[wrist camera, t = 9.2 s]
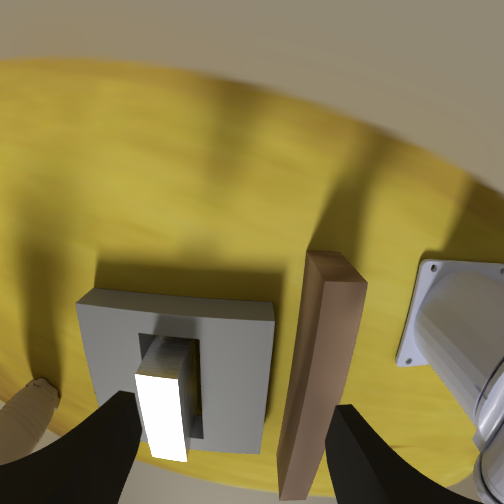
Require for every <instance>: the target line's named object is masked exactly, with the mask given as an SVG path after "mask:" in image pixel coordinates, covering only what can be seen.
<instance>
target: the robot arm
mask: <svg viewBox="0 0 504 504" xmlns="http://www.w3.org/2000/svg"><path fill="white" fill-rule="evenodd" d="M432 265H434V269H433V270H431V267H432ZM501 269H502V270H501ZM409 358H410V359H409ZM407 359H409V360H408V361H407ZM395 362H396V364H397V366H398V367H407V366H418V365H427V364H430V366H431V367H432V368H433V370H434V371H435V372H436V374H437V375H438V376H439V377H440V379H441V380H442V381H443V383H444V384H445V385H446V387H447V388H448V389H449V391H450V392H451V393H452V395H453V396H454V397H455V399H456V400H457V402H458V403H459V404H460V406H461V407H462V408H463V410H464V411H465V413H466V414H467V415H468V417H469V418H470V420H471V421H472V422H473V424H474V425H475V426H476V433H475V435H474V437H473V439H472V440H473V442H474V443H475V445H476V446H477V448H478V450H479V451H480V454H479V455H478V457H477V459H476V462H475V465H474V470H473V479H474V485H475V488H476V491H477V493H478V495H479V497H480V499H481V500H482V501H483V503H481V502H478V501H474V500H471V499H468V498H466V497H464V496H461V495H459V494H456V493H454V492H452V491H450V490H448V489H446V488H444V487H443V486H441V485H439V484H437V483H436V482H434V481H432V480H431V479H429V478H427V477H426V476H424V475H423V474H422V473H420V472H419V471H417V470H416V469H415V468H413V467H412V466H411V465H409V464H408V463H407V462H406V461H405V460H403V459H402V458H401V457H400V456H399V455H398V454H397V453H396V452H395V451H394V450H393V449H392V448H390V447H389V446H388V445H387V443H386V442H385V441H384V440H383V439H382V438H381V437H380V436H379V435H378V434H377V433H376V432H375V431H374V430H373V429H372V427H371V426H370V425H369V424H368V423H367V422H366V421H365V419H364V418H363V417H362V416H361V415H360V413H359V412H358V411H357V410H356V409H355V408H354V406H353V405H352V404H348V405H335V409H334V412H333V416H332V419H331V422H330V425H329V429H328V432H327V435H326V438H325V449H326V457H327V464H328V468H329V472H330V476H331V480H332V484H333V488H334V492H335V495H336V499H337V503H338V504H504V264H502V263H486V262H471V261H455V260H439V259H424V260H423V261H422V262H421V263H420V266H419V270H418V275H417V280H416V285H415V289H414V294H413V298H412V302H411V306H410V310H409V314H408V318H407V322H406V325H405V329H404V333H403V336H402V340H401V343H400V347H399V350H398V353H397V356H396V360H395ZM142 430H143V429H142V425H141V420H140V416H139V412H138V407H137V402H136V397H135V393H132V392H127V391H121V390H119V391H118V392H117V393H115V394H114V395H113V396H112V397H111V398H110V399H108V400H107V401H106V402H105V403H104V404H103V405H102V406H101V407H99V408H98V409H97V410H96V411H95V412H94V413H92V414H91V415H90V416H89V417H88V418H86V419H85V420H84V421H83V422H81V423H80V424H79V425H78V426H76V427H75V428H74V429H72V430H71V431H69V432H68V433H67V434H65V435H64V436H62V437H61V438H59V439H58V440H56V441H55V442H53V443H51V444H50V445H48V446H46V447H44V448H42V449H41V450H39V451H37V452H34V453H32V454H30V455H28V456H25V457H23V458H21V459H18V460H15V461H13V462H10V463H6V464H3V465H0V504H118V501H119V498H120V495H121V492H122V490H123V487H124V485H125V482H126V480H127V477H128V474H129V472H130V469H131V467H132V464H133V462H134V459H135V457H136V454H137V451H138V447H139V443H140V439H141V435H142Z"/></svg>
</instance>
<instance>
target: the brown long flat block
mask: <svg viewBox="0 0 504 504" xmlns="http://www.w3.org/2000/svg"><path fill="white" fill-rule="evenodd" d="M367 285H368V282H367V281H366V280H365V279H364V278H363V277H362V276H361V275H360V274H359V273H358V272H357V270H356V269H355V268H354V267H353V266H352V265H351V264H350V263H349V262H348V261H347V260H346V259H345V258H344V256H343V255H342V254H341V253H340V252H324V251H307V250H306V259H305V268H304V277H303V286H302V294H301V302H300V310H299V318H298V325H297V333H296V340H295V347H294V354H293V361H292V367H291V374H290V380H289V387H288V393H287V399H286V405H285V411H284V417H283V422H282V428H281V433H280V439H279V444H278V449H277V455H276V456H277V470H278V485H279V500H280V501H287V500H305V499H306V498H307V495H308V493H309V490H310V488H311V485H312V483H313V480H314V478H315V475H316V472H317V470H318V467H319V464H320V461H321V459H322V456H323V453H324V450H325V438H326V435H327V432H328V429H329V425H330V422H331V419H332V416H333V412H334V409H335V405H339V403H340V400H341V396H342V393H343V389H344V386H345V382H346V379H347V375H348V371H349V367H350V363H351V359H352V355H353V351H354V347H355V343H356V338H357V334H358V330H359V325H360V320H361V316H362V311H363V306H364V301H365V296H366V290H367Z"/></svg>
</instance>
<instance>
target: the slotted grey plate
mask: <svg viewBox="0 0 504 504" xmlns="http://www.w3.org/2000/svg"><path fill="white" fill-rule="evenodd" d="M76 309H77V315H78V320H79V326H80V331H81V336H82V341H83V346H84V350H85V355H86V359H87V363H88V367H89V371H90V375H91V379H92V383H93V387H94V390H95V394H96V397H97V401H98V404H99V407H101V406H102V405H103V404H104V403H105V402H106V401H107V400H108V399H110V398H111V397H112V396H113V395H114V394H115V393H117V392H118V391H119V390H121V391H127V392H132V393H135V397H136V402H137V407H138V412H139V416H140V420H141V425H142V429H143V430H142V435H141V439H140V441H142V442H147V443H149V440H148V435H147V431H146V427H145V422H144V418H143V413H142V408H141V404H140V398H139V393H138V388H137V382H136V377H135V373H136V372H137V370H138V368H139V366H140V364H141V362H142V360H143V358H144V356H145V354H146V353H147V351H148V349H149V347H150V345H151V343H152V341H153V338H152V334H153V335H161V336H171V337H181V338H191V339H200V368H201V394H202V415H203V416H202V415H196V419H195V424H194V428H193V433H192V438H191V443H190V448H189V449H194V450H203V451H214V452H226V453H244V454H260V448H261V440H262V433H263V425H264V416H265V408H266V400H267V391H268V382H269V374H270V364H271V355H272V346H273V336H274V326H275V318H274V310H273V303H272V302H262V301H243V300H226V299H211V298H197V297H184V296H171V295H160V294H149V293H138V292H128V291H118V290H108V289H99V288H93V289H91V290H90V291H89V292H88V293H87V294H85V295H84V296H83V297H82V298H81V299H80V300H79V301H77V302H76Z"/></svg>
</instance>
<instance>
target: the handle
mask: <svg viewBox="0 0 504 504" xmlns="http://www.w3.org/2000/svg"><path fill="white" fill-rule="evenodd" d="M59 403H60V399H59V398H58V391H57V390H56V388H54V387H52V386H51V385H50V384H49V383H48V382H47V381H46V380H45V379H43V378H39V379H38V380H31V381H30V382H29V383H28V384H27V385H26V386H25V387H24V388H23V389H21V390H20V391H19V392H18V393H16V394H15V395H14V396H13V397H12V398H11V399H10V400H9V401H8V402H7V403H6V404H5V405H4V407H3V408H2V409H1V410H0V465H3V464H6V463H10V462H13V461H15V460H18V459H21V458H23V457H25V456H28V455H30V454H31V452H32V451H33V450H34V449H35V447H36V446H37V444H38V443H39V441H40V439H41V438H42V436H43V434H44V433H45V431H46V429H47V427H48V425H49V423H50V421H51V419H52V416H53V413H54V411H56V410H57V408H58V406H59Z"/></svg>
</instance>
